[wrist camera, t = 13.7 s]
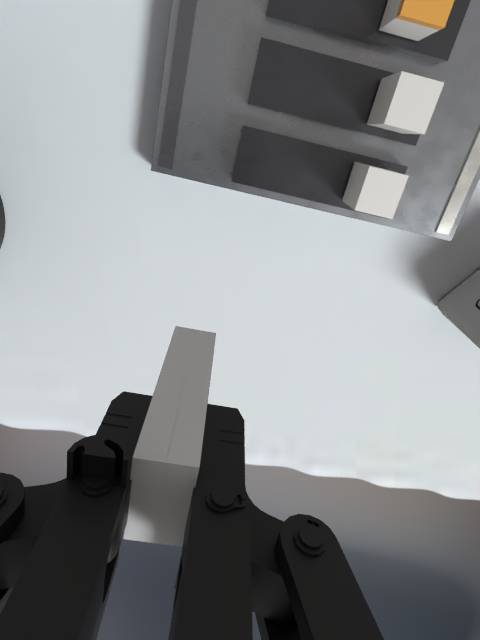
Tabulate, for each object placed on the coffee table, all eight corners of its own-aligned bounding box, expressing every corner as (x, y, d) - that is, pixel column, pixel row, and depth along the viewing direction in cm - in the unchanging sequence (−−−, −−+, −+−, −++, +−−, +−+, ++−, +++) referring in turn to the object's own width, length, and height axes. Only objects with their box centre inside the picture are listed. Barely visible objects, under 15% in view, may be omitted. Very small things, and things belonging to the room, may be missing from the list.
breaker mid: (366, 124, 32) (384, 123, 28) (381, 78, 31) (401, 70, 27) (402, 133, 32) (424, 134, 28) (418, 88, 31) (444, 82, 27)
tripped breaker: (378, 30, 29) (399, 15, 25) (395, -25, 28) (420, -50, 24) (417, 41, 30) (444, 27, 26) (436, -13, 28) (467, -36, 24)
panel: (155, 168, 37) (147, 172, 34) (188, -88, 30) (181, -114, 26) (441, 236, 40) (458, 245, 36) (539, 14, 32) (571, 2, 29)
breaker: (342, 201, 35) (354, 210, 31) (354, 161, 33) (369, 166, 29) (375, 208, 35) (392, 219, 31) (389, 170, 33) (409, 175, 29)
